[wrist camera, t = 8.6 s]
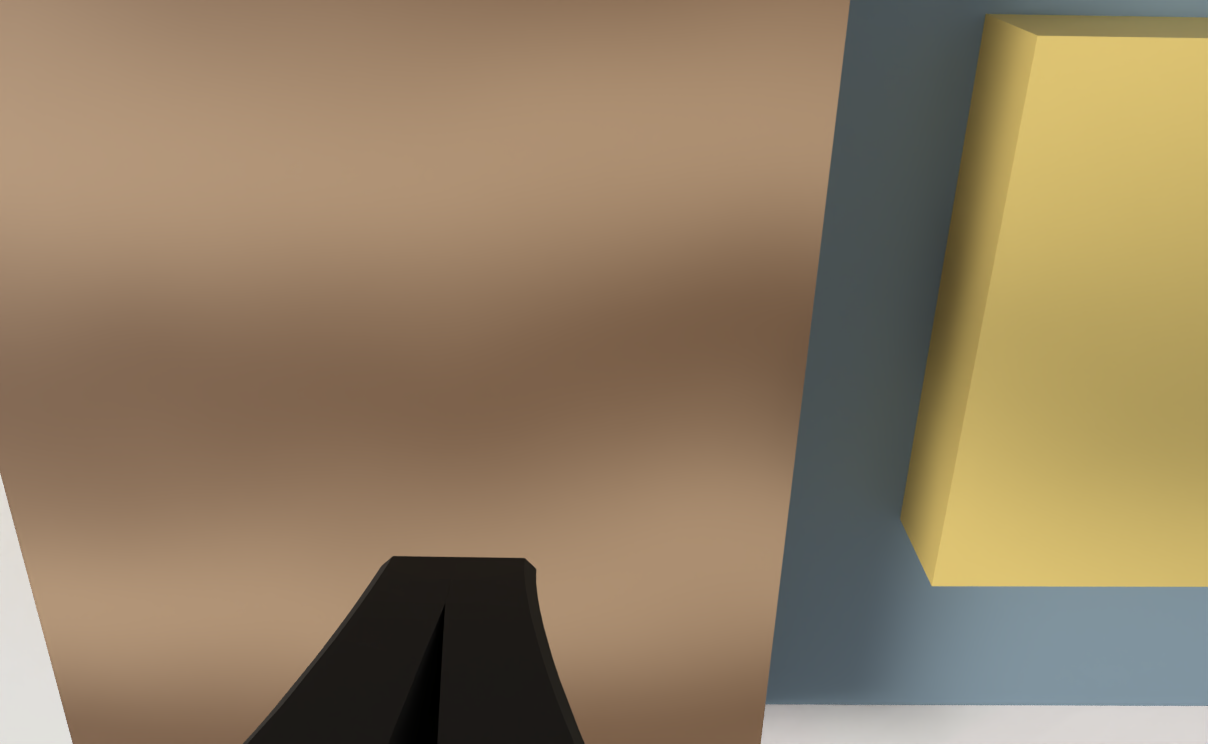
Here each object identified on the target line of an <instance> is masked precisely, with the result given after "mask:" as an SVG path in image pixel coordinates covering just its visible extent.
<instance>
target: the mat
mask: <svg viewBox="0 0 1208 744" xmlns="http://www.w3.org/2000/svg"><path fill="white" fill-rule="evenodd" d="M986 14H1022V15H1085V16H1148V17H1208V0H850V6H849V14H848V22H847V30H846V39H845V47H844V55H843V64H842V72H841V80H840V88H839V97H838V105H837V113H836V122H835V130H834V138H833V146H832V155H831V163H830V171H829V180H828V188H827V196H826V205H825V213H824V221H823V229H822V238H821V246H820V254H819V263H818V271H817V279H816V287H815V296H814V304H813V312H812V321H811V329H810V337H809V346H808V354H807V362H806V370H805V379H804V387H803V395H802V404H801V412H800V420H799V428H798V437H797V445H796V453H795V462H794V470H793V478H792V486H791V495H790V503H789V511H788V520H787V528H786V536H785V545H784V553H783V561H782V569H781V578H780V586H779V594H778V603H777V611H776V619H775V627H774V636H773V644H772V652H771V661H770V669H769V677H768V686H767V694H766V702H765V704H839V705H1119V706H1208V587H1046V586H931V584H930V582H929V579H928V577H927V575H926V573H925V571H924V569H923V567H922V565H921V563H920V560H919V558H918V556H917V554H916V552H915V550H914V548H913V546H912V544H911V541H910V539H909V537H908V535H907V533H906V531H905V529H904V527H903V524H902V522H901V520H900V516H901V510H902V504H903V498H904V492H905V486H906V481H907V475H908V469H909V463H910V457H911V451H912V445H913V439H914V433H915V428H916V422H917V416H918V410H919V404H920V398H921V392H922V386H923V380H924V375H925V369H926V363H927V357H928V351H929V345H930V339H931V333H932V327H933V322H934V316H935V310H936V304H937V298H938V292H939V286H940V280H941V274H942V269H943V263H944V257H945V251H946V245H947V239H948V233H949V227H950V221H951V216H952V210H953V204H954V198H955V192H956V186H957V180H958V174H959V168H960V162H961V157H962V151H963V145H964V139H965V133H966V127H967V121H968V115H969V109H970V104H971V98H972V92H973V86H974V80H975V74H976V68H977V62H978V56H979V51H980V45H981V39H982V33H983V27H984V21H985V15H986Z"/></svg>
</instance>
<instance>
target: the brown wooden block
mask: <svg viewBox="0 0 1208 744" xmlns="http://www.w3.org/2000/svg"><path fill="white" fill-rule="evenodd" d="M849 6H850V0H0V473H1V477H2V481H3V485H4V488H5V492H6V496H7V500H8V503H9V507H10V511H11V514H12V518H13V522H14V526H15V529H16V533H17V537H18V541H19V544H20V548H21V552H22V556H23V559H24V563H25V567H26V570H27V574H28V578H29V582H30V585H31V589H32V593H33V597H34V600H35V604H36V608H37V612H38V615H39V619H40V623H41V626H42V630H43V634H44V638H45V641H46V645H47V649H48V653H49V656H50V660H51V664H52V668H53V671H54V675H55V679H56V682H57V686H58V690H59V694H60V697H61V701H62V705H63V709H64V712H65V716H66V720H67V724H68V727H69V731H70V735H71V738H72V742H73V744H243V743H244V742H245V741H246V740H247V738H248V737H249V736H250V735H251V734H252V733H253V732H254V731H255V730H256V729H257V727H258V726H259V725H260V724H261V723H262V722H263V721H264V719H265V718H266V717H267V716H268V715H269V714H270V712H271V711H272V710H273V709H274V708H275V706H276V705H277V704H278V703H279V702H280V700H281V699H282V698H283V697H284V695H285V694H286V693H287V692H288V690H289V689H290V688H291V687H292V686H293V684H294V683H295V682H296V681H297V679H298V678H299V677H300V676H301V674H302V673H303V672H304V671H305V670H306V668H307V667H308V666H309V665H310V663H311V662H312V661H313V660H314V658H315V657H316V656H317V655H318V653H319V652H320V651H321V650H322V648H323V647H324V646H325V644H326V643H327V642H328V640H329V639H330V638H331V636H332V635H333V634H334V632H335V631H336V630H337V628H338V627H339V626H340V624H341V623H342V622H343V620H344V619H345V618H346V616H347V615H348V613H349V612H350V611H351V609H352V608H353V607H354V605H355V604H356V602H357V601H358V600H359V598H360V597H361V595H362V594H363V592H364V591H365V589H366V588H367V587H368V585H369V584H370V582H371V581H372V579H373V578H374V576H375V575H376V573H377V572H378V570H379V569H380V567H381V566H382V565H383V564H384V563H385V562H386V561H388V560H389V559H390V558H391V557H392V556H428V557H496V558H525V559H526V560H527V561H529V562H530V563H531V564H532V565H533V566H534V567H535V568H536V585H537V594H538V601H539V607H540V612H541V616H542V621H543V625H544V629H545V632H546V636H547V640H548V643H549V647H550V650H551V654H552V657H553V660H554V663H555V666H556V669H557V672H558V675H559V679H560V681H561V684H562V686H563V689H564V692H565V694H566V697H567V700H568V702H569V705H570V708H571V710H572V713H573V715H574V718H575V721H576V723H577V726H578V729H579V731H580V733H581V736H582V738H583V740H584V743H585V744H761V735H762V727H763V719H764V710H765V702H766V694H767V686H768V677H769V669H770V661H771V652H772V644H773V636H774V627H775V619H776V611H777V603H778V594H779V586H780V578H781V569H782V561H783V553H784V545H785V536H786V528H787V520H788V511H789V503H790V495H791V486H792V478H793V470H794V462H795V453H796V445H797V437H798V428H799V420H800V412H801V404H802V395H803V387H804V379H805V370H806V362H807V354H808V346H809V337H810V329H811V321H812V312H813V304H814V296H815V287H816V279H817V271H818V263H819V254H820V246H821V238H822V229H823V221H824V213H825V205H826V196H827V188H828V180H829V171H830V163H831V155H832V146H833V138H834V130H835V122H836V113H837V105H838V97H839V88H840V80H841V72H842V64H843V55H844V47H845V39H846V30H847V22H848V14H849Z"/></svg>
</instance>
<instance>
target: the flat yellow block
mask: <svg viewBox="0 0 1208 744" xmlns="http://www.w3.org/2000/svg"><path fill="white" fill-rule="evenodd" d="M900 520H901V522H902V524H903V527H904V529H905V531H906V533H907V535H908V537H909V539H910V541H911V544H912V546H913V548H914V550H915V552H916V554H917V556H918V558H919V560H920V563H921V565H922V567H923V569H924V571H925V573H926V575H927V577H928V579H929V582H930V584H931V586H1046V587H1208V17H1148V16H1085V15H1022V14H986V15H985V21H984V27H983V33H982V39H981V45H980V51H979V56H978V62H977V68H976V74H975V80H974V86H973V92H972V98H971V104H970V109H969V115H968V121H967V127H966V133H965V139H964V145H963V151H962V157H961V162H960V168H959V174H958V180H957V186H956V192H955V198H954V204H953V210H952V216H951V221H950V227H949V233H948V239H947V245H946V251H945V257H944V263H943V269H942V274H941V280H940V286H939V292H938V298H937V304H936V310H935V316H934V322H933V327H932V333H931V339H930V345H929V351H928V357H927V363H926V369H925V375H924V380H923V386H922V392H921V398H920V404H919V410H918V416H917V422H916V428H915V433H914V439H913V445H912V451H911V457H910V463H909V469H908V475H907V481H906V486H905V492H904V498H903V504H902V510H901V516H900Z"/></svg>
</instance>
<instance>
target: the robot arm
mask: <svg viewBox="0 0 1208 744" xmlns="http://www.w3.org/2000/svg"><path fill="white" fill-rule="evenodd" d="M243 744H585V743H584V740H583V738H582V736H581V733H580V731H579V729H578V726H577V723H576V721H575V718H574V715H573V713H572V710H571V708H570V705H569V702H568V700H567V697H566V694H565V692H564V689H563V686H562V684H561V681H560V679H559V675H558V672H557V669H556V666H555V663H554V660H553V657H552V654H551V650H550V647H549V643H548V640H547V636H546V632H545V629H544V625H543V621H542V616H541V612H540V607H539V601H538V594H537V585H536V568H535V567H534V566H533V565H532V564H531V563H530V562H529V561H527V560H526V559H525V558H496V557H428V556H392V557H391V558H390V559H389V560H388V561H386V562H385V563H384V564H383V565H382V566H381V567H380V569H379V570H378V572H377V573H376V575H375V576H374V578H373V579H372V581H371V582H370V584H369V585H368V587H367V588H366V589H365V591H364V592H363V594H362V595H361V597H360V598H359V600H358V601H357V602H356V604H355V605H354V607H353V608H352V609H351V611H350V612H349V613H348V615H347V616H346V618H345V619H344V620H343V622H342V623H341V624H340V626H339V627H338V628H337V630H336V631H335V632H334V634H333V635H332V636H331V638H330V639H329V640H328V642H327V643H326V644H325V646H324V647H323V648H322V650H321V651H320V652H319V653H318V655H317V656H316V657H315V658H314V660H313V661H312V662H311V663H310V665H309V666H308V667H307V668H306V670H305V671H304V672H303V673H302V674H301V676H300V677H299V678H298V679H297V681H296V682H295V683H294V684H293V686H292V687H291V688H290V689H289V690H288V692H287V693H286V694H285V695H284V697H283V698H282V699H281V700H280V702H279V703H278V704H277V705H276V706H275V708H274V709H273V710H272V711H271V712H270V714H269V715H268V716H267V717H266V718H265V719H264V721H263V722H262V723H261V724H260V725H259V726H258V727H257V729H256V730H255V731H254V732H253V733H252V734H251V735H250V736H249V737H248V738H247V740H246V741H245V742H244V743H243Z"/></svg>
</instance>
